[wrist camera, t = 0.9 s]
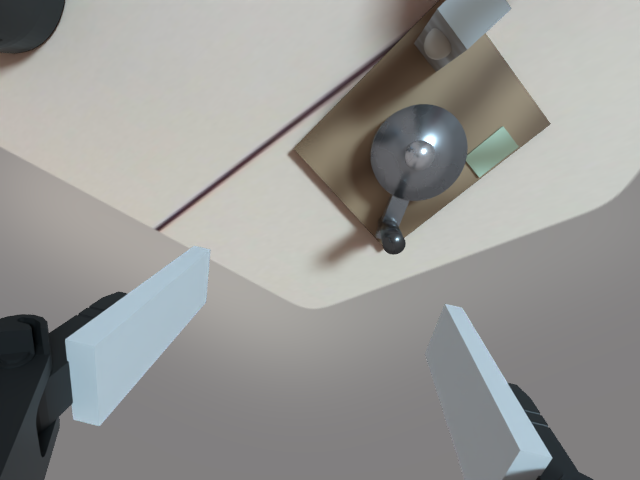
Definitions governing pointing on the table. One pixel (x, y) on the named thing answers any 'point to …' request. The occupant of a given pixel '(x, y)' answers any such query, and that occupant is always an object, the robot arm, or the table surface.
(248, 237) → the table surface
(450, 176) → the silver round handled piece
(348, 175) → the board
